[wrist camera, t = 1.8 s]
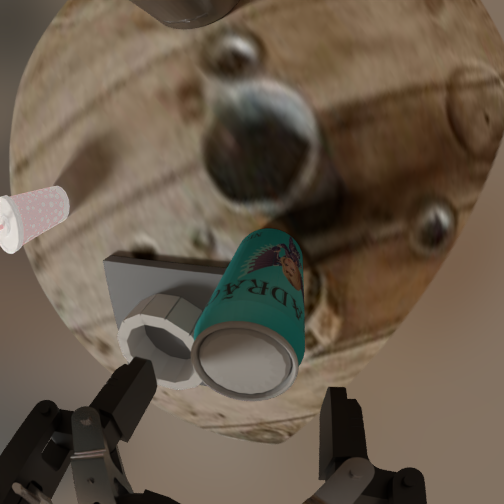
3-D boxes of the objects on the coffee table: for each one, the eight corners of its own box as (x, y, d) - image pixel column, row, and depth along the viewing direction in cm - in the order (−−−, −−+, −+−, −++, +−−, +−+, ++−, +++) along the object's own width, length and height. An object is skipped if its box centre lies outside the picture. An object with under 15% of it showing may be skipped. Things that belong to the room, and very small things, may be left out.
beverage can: (314, 247, 26) (330, 362, 12) (277, 291, 28) (257, 417, 14) (263, 210, 25) (222, 293, 11) (228, 258, 27) (166, 367, 13)
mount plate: (110, 255, 29) (81, 275, 24) (249, 270, 27) (237, 299, 22) (133, 360, 35) (116, 386, 30) (245, 383, 33) (237, 416, 28)
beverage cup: (44, 223, 30) (-36, 265, 17) (42, 178, 27) (-46, 207, 15) (75, 231, 29) (-13, 281, 16) (73, 181, 27) (-25, 214, 14)
